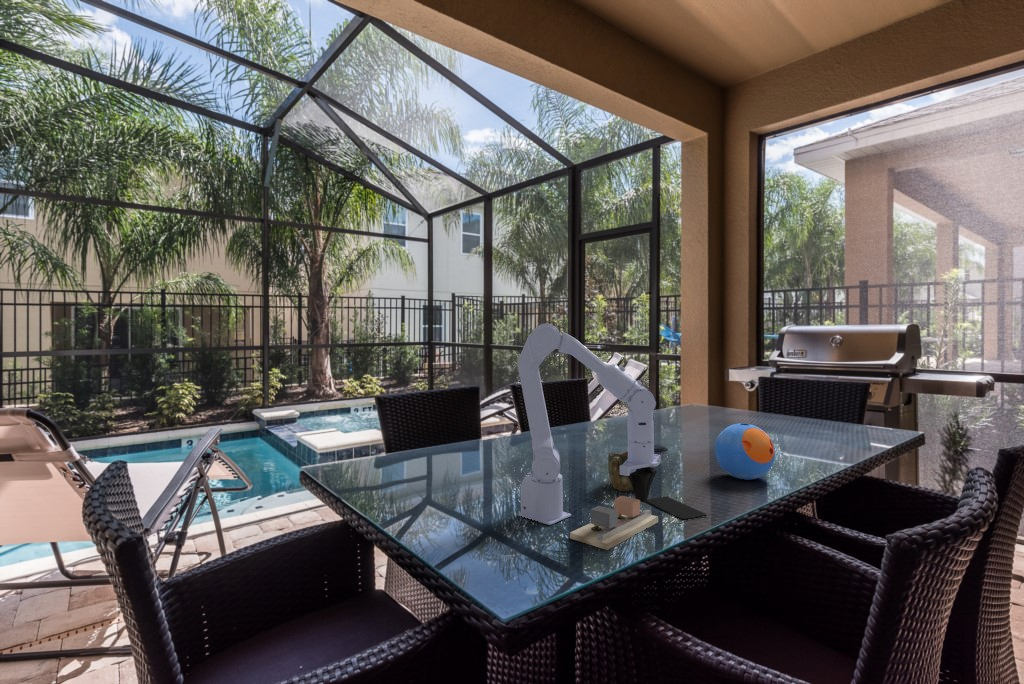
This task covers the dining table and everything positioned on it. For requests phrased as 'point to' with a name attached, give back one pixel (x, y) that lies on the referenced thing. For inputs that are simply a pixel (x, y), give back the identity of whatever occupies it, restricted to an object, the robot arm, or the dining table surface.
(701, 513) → the smartphone
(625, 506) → the brownish pink rectangular block
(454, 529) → the dining table surface
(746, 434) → the treat dispenser ball
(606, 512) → the fixed leg
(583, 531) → the hole plate
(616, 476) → the cup
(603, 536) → the divider bar
